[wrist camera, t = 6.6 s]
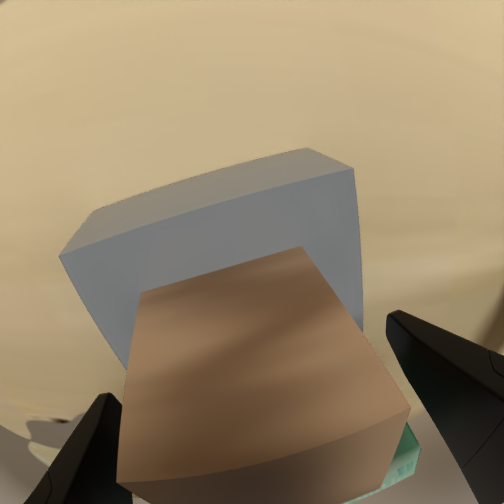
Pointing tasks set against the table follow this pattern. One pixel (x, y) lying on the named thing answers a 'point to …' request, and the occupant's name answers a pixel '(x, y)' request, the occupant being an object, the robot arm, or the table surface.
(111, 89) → the table surface
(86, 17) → the table surface
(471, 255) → the table surface
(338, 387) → the block
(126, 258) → the base
